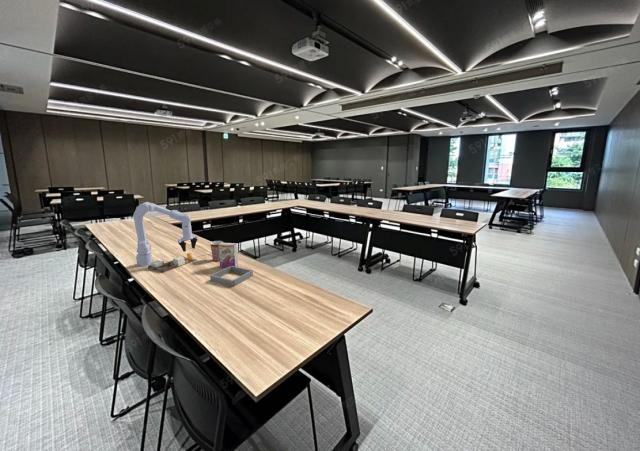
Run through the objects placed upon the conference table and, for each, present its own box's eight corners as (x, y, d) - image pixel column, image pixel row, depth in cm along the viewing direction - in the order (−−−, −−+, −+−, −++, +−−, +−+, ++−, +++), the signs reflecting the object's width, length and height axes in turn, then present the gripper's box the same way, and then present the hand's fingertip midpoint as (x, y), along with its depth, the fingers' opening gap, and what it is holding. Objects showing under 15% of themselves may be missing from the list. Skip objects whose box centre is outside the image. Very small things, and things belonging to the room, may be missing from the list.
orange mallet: (173, 264, 187) (172, 257, 186) (189, 259, 198) (188, 252, 197) (178, 266, 185) (177, 259, 184) (194, 260, 196) (193, 253, 195)
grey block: (151, 268, 180) (150, 262, 179) (158, 266, 184) (157, 260, 183) (156, 269, 178) (155, 264, 177) (163, 267, 182) (162, 261, 181)
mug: (215, 263, 193) (214, 245, 190) (209, 260, 199) (207, 242, 196) (231, 258, 203) (230, 241, 200) (224, 256, 208) (223, 239, 205)
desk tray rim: (209, 281, 164) (209, 275, 163) (231, 270, 180) (231, 265, 179) (233, 286, 156) (233, 281, 155) (253, 275, 172) (253, 270, 172)
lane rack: (148, 270, 180) (147, 265, 179) (183, 258, 203) (182, 254, 202) (163, 274, 173) (162, 269, 173) (197, 261, 197) (197, 257, 196)
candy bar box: (219, 267, 185) (217, 244, 182) (222, 264, 190) (221, 242, 186) (235, 268, 184) (233, 245, 181) (238, 265, 189) (236, 243, 185)
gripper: (182, 234, 183) (184, 253, 186) (199, 230, 196) (201, 247, 199) (174, 233, 186) (177, 252, 189) (192, 228, 199) (194, 246, 202)
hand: (188, 249), depth 194 cm, fingers open, 7 cm apart
